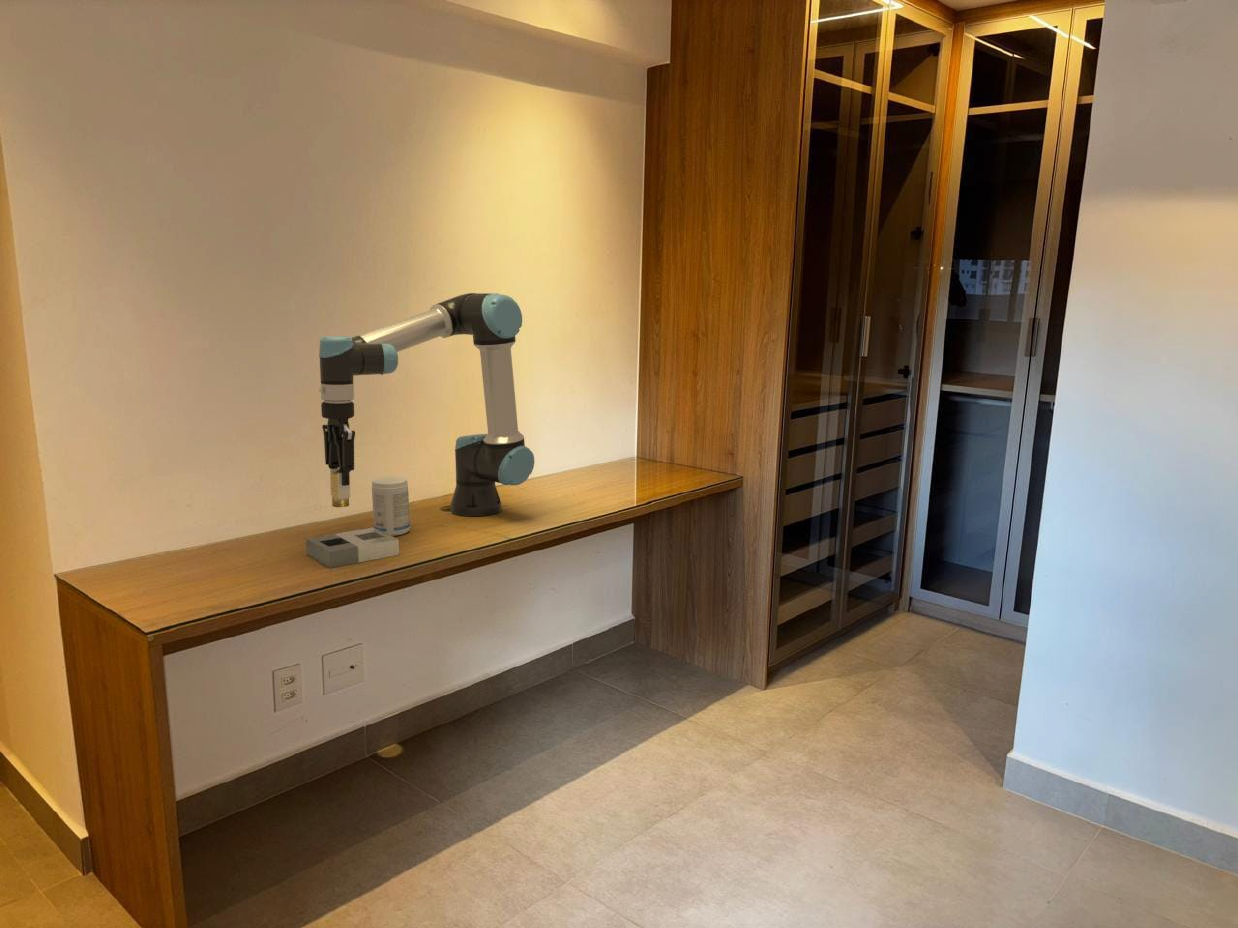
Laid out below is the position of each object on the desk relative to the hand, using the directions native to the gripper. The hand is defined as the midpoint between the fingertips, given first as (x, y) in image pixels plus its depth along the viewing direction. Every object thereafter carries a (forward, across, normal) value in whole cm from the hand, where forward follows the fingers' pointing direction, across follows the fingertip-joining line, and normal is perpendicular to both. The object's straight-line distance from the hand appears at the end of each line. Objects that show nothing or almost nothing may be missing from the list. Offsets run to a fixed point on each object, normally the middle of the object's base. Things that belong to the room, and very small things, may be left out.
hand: (340, 496), depth 219 cm
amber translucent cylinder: (+2, 0, 0) cm, 2 cm away
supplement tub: (+15, -13, +20) cm, 29 cm away
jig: (+15, 0, +3) cm, 16 cm away
